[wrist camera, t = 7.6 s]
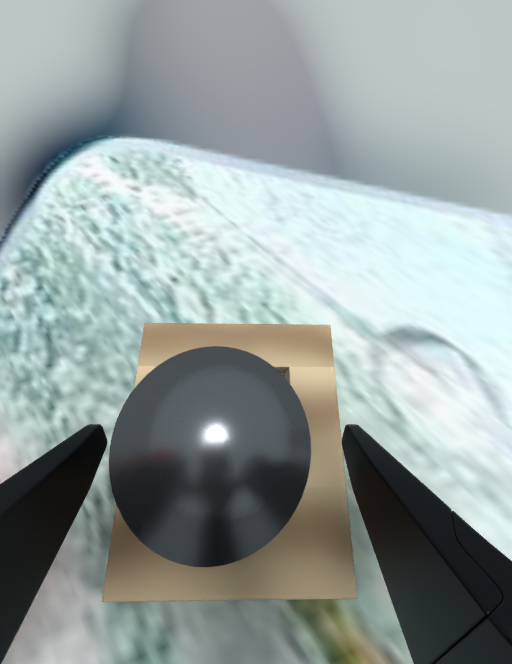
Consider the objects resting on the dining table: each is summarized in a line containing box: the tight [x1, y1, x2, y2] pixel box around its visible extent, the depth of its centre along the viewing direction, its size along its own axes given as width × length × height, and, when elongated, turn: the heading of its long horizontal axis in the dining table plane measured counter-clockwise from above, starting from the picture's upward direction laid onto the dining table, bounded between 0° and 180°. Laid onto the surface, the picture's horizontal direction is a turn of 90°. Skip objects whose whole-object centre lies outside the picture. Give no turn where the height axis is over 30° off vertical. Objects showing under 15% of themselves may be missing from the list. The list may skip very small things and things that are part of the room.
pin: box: [109, 346, 311, 567], centre depth 12 cm, size 5×5×12 cm
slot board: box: [102, 323, 357, 602], centre depth 16 cm, size 15×13×2 cm
